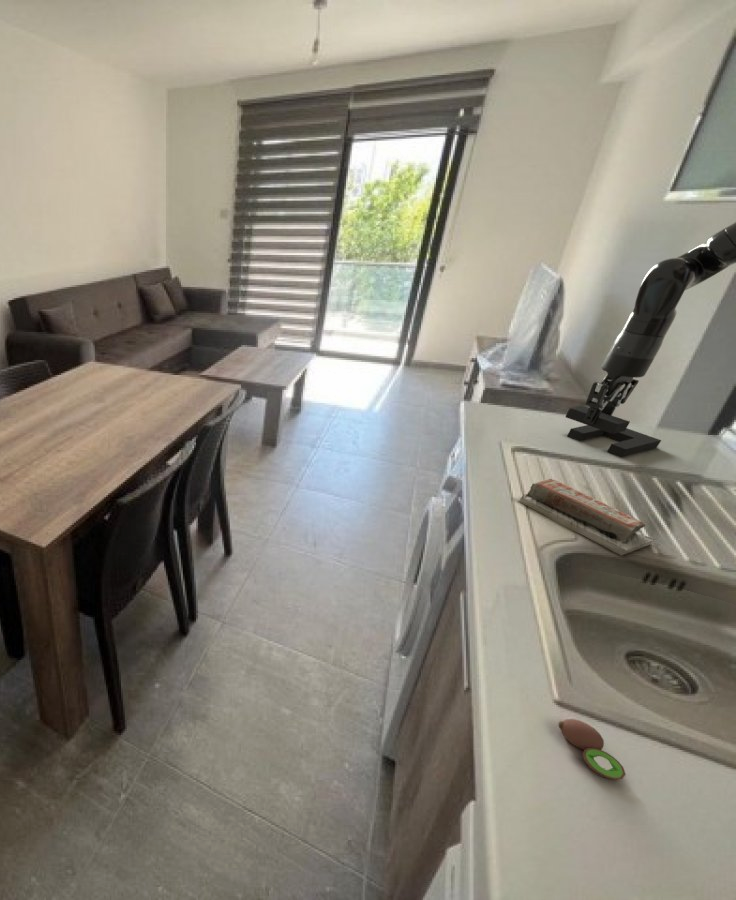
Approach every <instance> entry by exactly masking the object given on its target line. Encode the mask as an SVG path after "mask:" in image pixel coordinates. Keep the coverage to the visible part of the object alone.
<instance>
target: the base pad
mask: <svg viewBox="0 0 736 900" xmlns="http://www.w3.org/2000/svg"><path fill="white" fill-rule="evenodd" d="M566 437H568V438H571V439H573V440H576V441H577V442H582V441H586V440H591V439H595V438H600V437H606V438H608V439H610V440H613V441H616V442H613V443H610V445H609V447H608V449H607V450H606V453H609V454H610V455H614V456H616V457H619V458H624V457H628V456H632V455H635V454H639V453H643V452H648V451H651V450H655V449H657V448H658V447H659V445H660V443H661V442H662V440H661V439H658V438H656V437H653V436H650V435H648V434H644V433H642V432H639V431H636V430H633V429H630V428H629V427H627V428H626V430H625V431H623V432H618V433H614V434H612V433H609V432H606V431H603V430H600V429H597V428H595V427H592V426H589V425H586V424H585V425H581V426H577V427H571V428H570V429H569V432H568V434H567V435H566Z"/></svg>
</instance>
